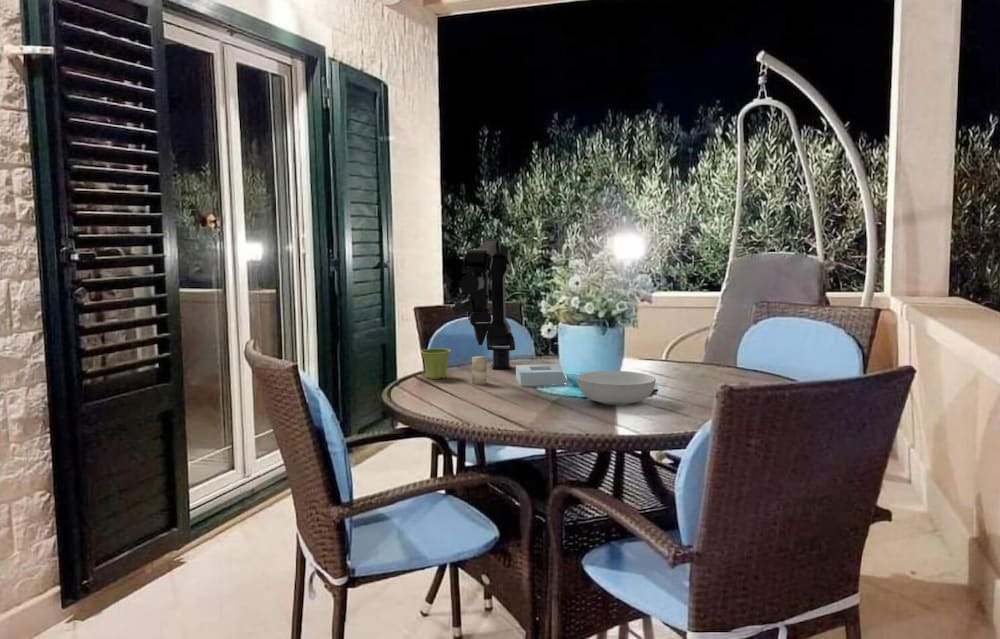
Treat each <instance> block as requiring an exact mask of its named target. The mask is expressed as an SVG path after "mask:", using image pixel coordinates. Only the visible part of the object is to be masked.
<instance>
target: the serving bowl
mask: <svg viewBox="0 0 1000 639" xmlns="http://www.w3.org/2000/svg"><path fill="white" fill-rule="evenodd" d="M576 381H577V385H578V386H577V387H578V388H579V390H580V392H581V393H582V394H583V395H584V396H585V397H586V398H588V399H590V400H591V401H595V402H597V403H601V404H603V405H608V406H627V405H631V404H634V403H638V402H642V401H644V400H646V398H648V397H650V396H651V394H652V393H653V391H654V389H655V386H656V382H657V381H656V378H655V376H653V375H650V374H648V373H647V374H646V373H642V372H636V371H629V370H595V371H588V372H581V373H579V374H578V375H577V376H576Z"/></svg>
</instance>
